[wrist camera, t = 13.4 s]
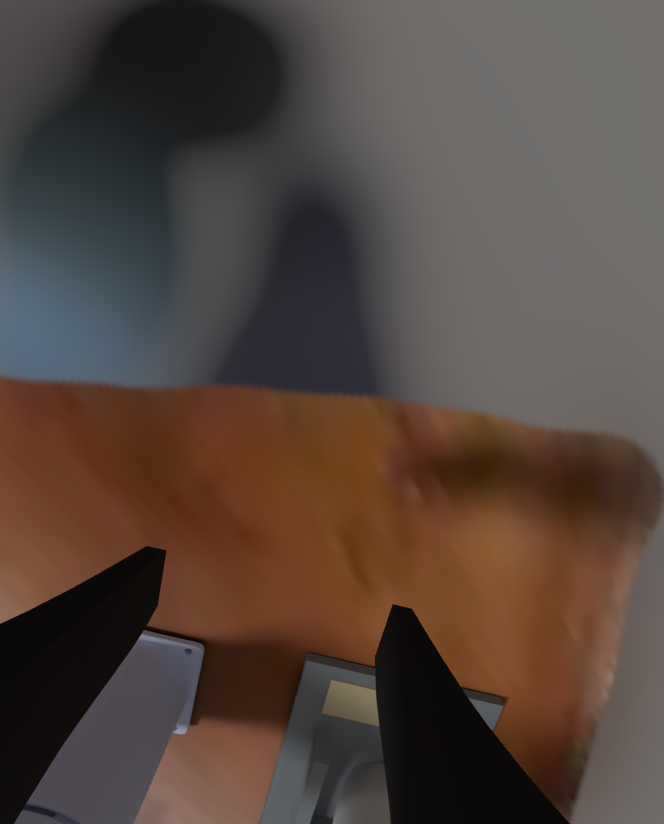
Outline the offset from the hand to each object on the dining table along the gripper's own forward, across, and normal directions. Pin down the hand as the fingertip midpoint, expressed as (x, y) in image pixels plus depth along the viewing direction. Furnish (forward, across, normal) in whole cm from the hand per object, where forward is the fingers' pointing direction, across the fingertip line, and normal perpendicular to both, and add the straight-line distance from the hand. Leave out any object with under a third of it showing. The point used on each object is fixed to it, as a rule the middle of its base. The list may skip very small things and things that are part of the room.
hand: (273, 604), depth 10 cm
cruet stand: (+10, -10, +22) cm, 26 cm away
